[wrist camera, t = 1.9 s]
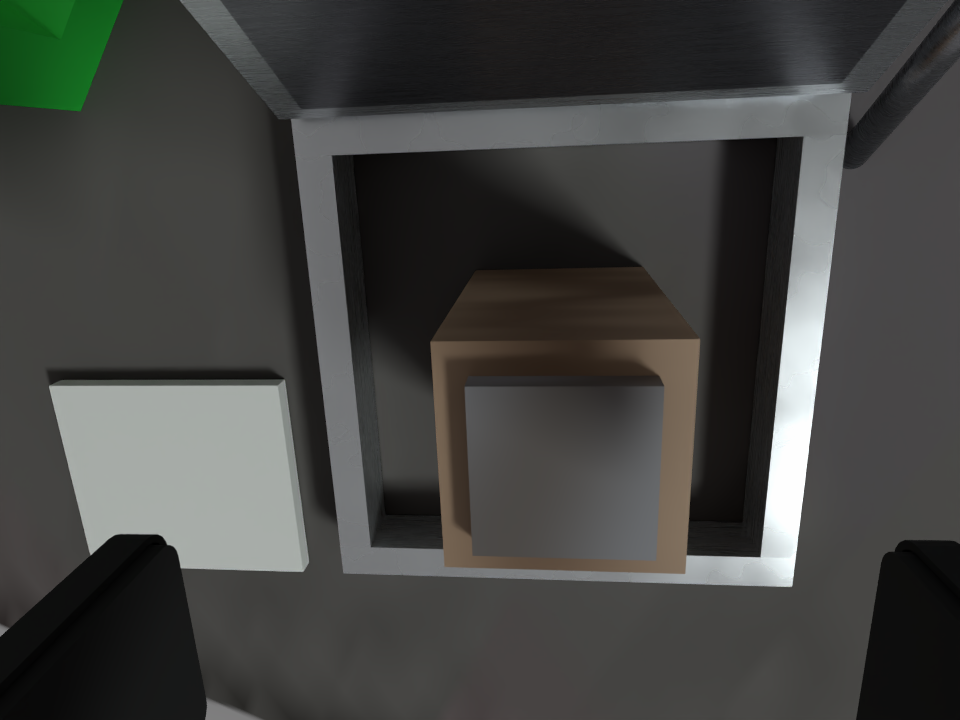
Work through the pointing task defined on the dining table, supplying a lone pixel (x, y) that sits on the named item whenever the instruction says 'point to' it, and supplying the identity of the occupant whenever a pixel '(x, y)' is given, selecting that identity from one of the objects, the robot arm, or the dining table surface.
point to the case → (579, 122)
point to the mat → (187, 468)
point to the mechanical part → (52, 50)
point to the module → (565, 422)
